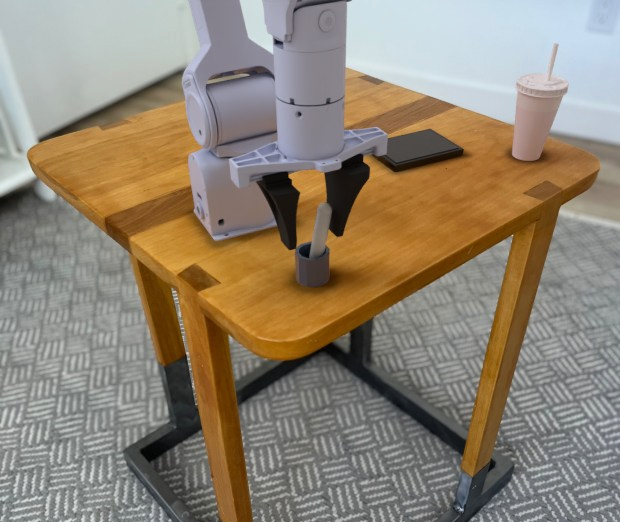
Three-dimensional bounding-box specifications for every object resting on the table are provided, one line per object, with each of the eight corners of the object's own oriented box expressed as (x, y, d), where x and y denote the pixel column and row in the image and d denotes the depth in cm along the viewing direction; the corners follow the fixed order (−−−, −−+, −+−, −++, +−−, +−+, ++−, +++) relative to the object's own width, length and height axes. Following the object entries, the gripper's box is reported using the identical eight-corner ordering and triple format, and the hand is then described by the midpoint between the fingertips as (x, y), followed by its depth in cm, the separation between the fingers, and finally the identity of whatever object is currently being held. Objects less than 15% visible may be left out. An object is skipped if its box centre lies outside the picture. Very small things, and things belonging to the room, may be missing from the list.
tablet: (394, 172, 81) (395, 164, 80) (364, 149, 86) (364, 142, 85) (463, 155, 84) (464, 148, 84) (429, 134, 90) (430, 127, 89)
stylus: (309, 281, 62) (322, 206, 57) (303, 274, 63) (316, 200, 58) (321, 279, 62) (336, 206, 58) (315, 272, 63) (329, 199, 59)
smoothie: (552, 167, 81) (582, 53, 72) (502, 163, 82) (525, 50, 73) (548, 147, 86) (576, 37, 76) (501, 143, 87) (522, 35, 77)
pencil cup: (305, 293, 61) (304, 263, 59) (290, 276, 64) (289, 246, 61) (335, 284, 62) (335, 254, 60) (320, 267, 65) (319, 238, 62)
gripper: (246, 127, 45) (259, 279, 55) (411, 93, 50) (398, 239, 59) (213, 97, 50) (230, 241, 59) (367, 69, 55) (361, 207, 64)
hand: (312, 238), depth 60 cm, fingers open, 4 cm apart
